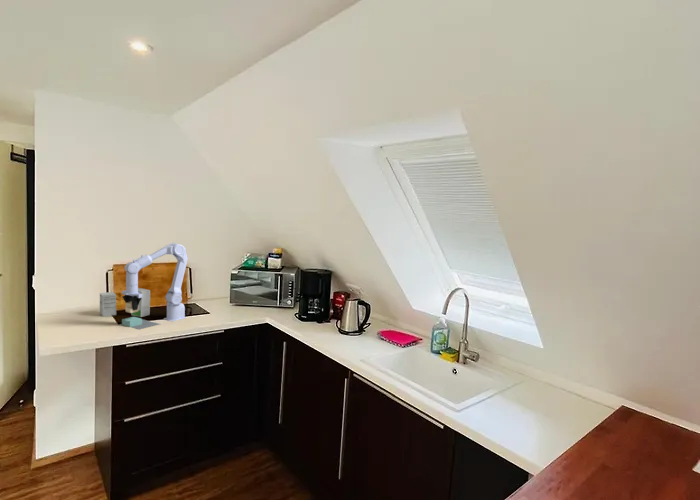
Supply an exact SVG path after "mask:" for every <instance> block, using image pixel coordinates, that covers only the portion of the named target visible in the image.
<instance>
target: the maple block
mask: <svg viewBox="0 0 700 500" xmlns="http://www.w3.org/2000/svg"><path fill="white" fill-rule="evenodd" d="M124 303H125V302H124ZM124 309H125V313H129V314H131V313H133V312H138V308H137V310H133V308H132V302H126V303H125V308H124Z"/></svg>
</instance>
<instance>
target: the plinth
mask: <svg viewBox="0 0 700 500" xmlns="http://www.w3.org/2000/svg"><path fill="white" fill-rule="evenodd" d="M142 319H143V318H142V317H138V316H131V317H126V318H122V319H121V324H122V325H121V326H124V325H125V326H124V327H128V328H131V327H132V326H137V325H141V324H142Z"/></svg>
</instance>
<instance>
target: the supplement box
mask: <svg viewBox="0 0 700 500" xmlns="http://www.w3.org/2000/svg"><path fill="white" fill-rule="evenodd" d="M99 314H100V315H101V316H102V317H111V316H117V294H116V293H115V292H113V291H110V292H108V291H107V292H100V293H99Z"/></svg>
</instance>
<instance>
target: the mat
mask: <svg viewBox="0 0 700 500" xmlns="http://www.w3.org/2000/svg"><path fill="white" fill-rule="evenodd" d="M141 319H142V324H141V325H137V326H132V327H130V328H131V329H135V330H143V329H147V328H151V327H155V326H160V325H161V323H157V322H154V321H150V320H146V319H143V318H141ZM120 325H121V326H123V327H126V326H125V325H122V323H120Z"/></svg>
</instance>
